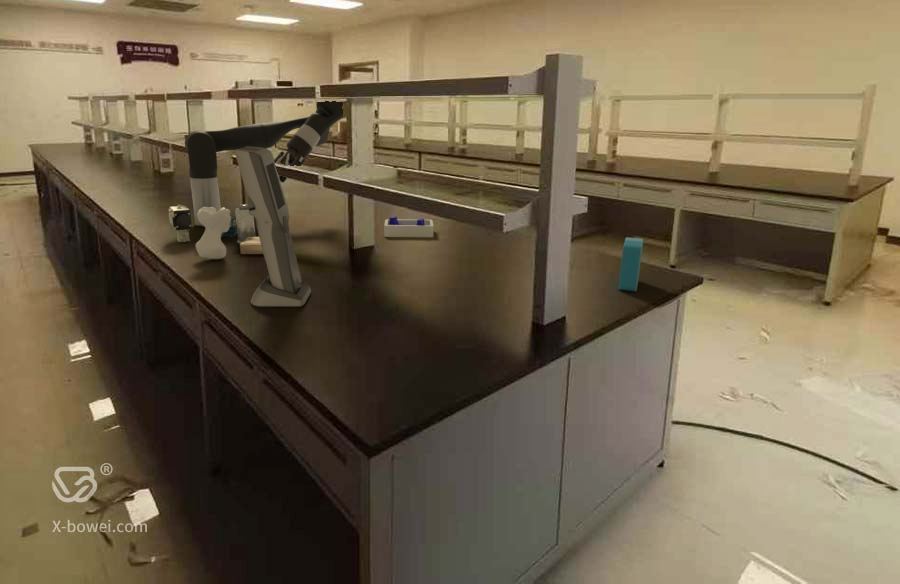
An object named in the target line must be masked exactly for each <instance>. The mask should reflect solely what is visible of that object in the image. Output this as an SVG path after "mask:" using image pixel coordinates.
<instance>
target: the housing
mask: <svg viewBox="0 0 900 584" xmlns="http://www.w3.org/2000/svg"><path fill="white" fill-rule="evenodd" d="M247 206H248V203H247V204H238V207H237V208H235V210H234V211H235V212H234V213H235V216H236V223H237V234H238V235H237V239H236V244H237V245H240V244H241V243H242V242H243V241H244V240H245V239H247V238H248V237H256V230H255V229H256V228H255V217H253V216H251V215H250V214H249V209H248V207H247Z"/></svg>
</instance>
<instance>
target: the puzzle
mask: <svg viewBox="0 0 900 584" xmlns="http://www.w3.org/2000/svg"><path fill="white" fill-rule="evenodd" d="M230 217H231V221H230V223H229V225H230V227H229V230H228V231H227V232H223V233H222V234H221V237H223V236H234V237H236V236H238V235H237V223H236V215H235V216H234V215H233V216H232V215H230ZM235 235H236V236H235Z"/></svg>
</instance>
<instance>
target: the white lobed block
mask: <svg viewBox="0 0 900 584" xmlns="http://www.w3.org/2000/svg"><path fill="white" fill-rule="evenodd" d="M230 216H231V210H230V209H228V208H226V207H221V208H220V209H219V211H218V212H216V209H215V208H213V207H210V208H208V207H203V208H201V209H200V210H199V211H198V213H197V218H198V220H199V222H200V223H201V224H202V225H204V226H203V227H204V228H205V230H204V232H203V234H202V236H201V238H200V239H199V240H198V241H197V242H196V243H195V249H196V251H197V253H198V255H199V256H200V257H201V258H203V259H210V260H220V259H224V257H226V255H227V247H226V245H225V244H224V243H223V241H222V239H221V238H222V236H221V234H222V233H223V232H227V231H228V230H229V227H230V225H229V223H230V221H231V217H230Z"/></svg>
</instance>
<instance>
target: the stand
mask: <svg viewBox="0 0 900 584" xmlns="http://www.w3.org/2000/svg"><path fill="white" fill-rule="evenodd" d="M239 249H240V254H241V255H264V254H263V250H262V247H261V243H260V238H259V236H255V237H248V238H247V239H245V240H244V241H243V242H242V243H241V244H239Z"/></svg>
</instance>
